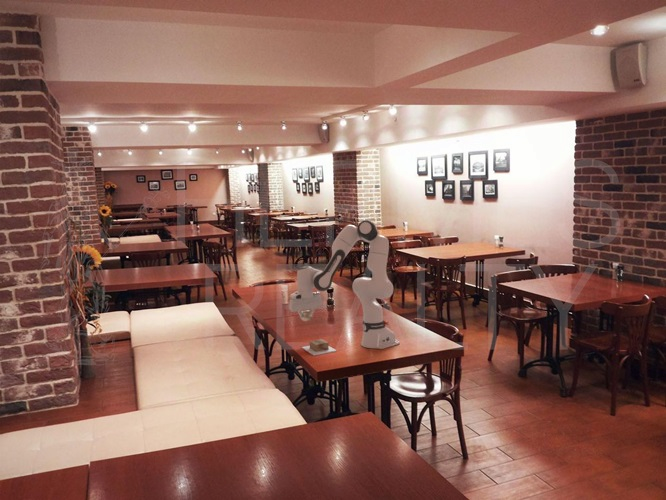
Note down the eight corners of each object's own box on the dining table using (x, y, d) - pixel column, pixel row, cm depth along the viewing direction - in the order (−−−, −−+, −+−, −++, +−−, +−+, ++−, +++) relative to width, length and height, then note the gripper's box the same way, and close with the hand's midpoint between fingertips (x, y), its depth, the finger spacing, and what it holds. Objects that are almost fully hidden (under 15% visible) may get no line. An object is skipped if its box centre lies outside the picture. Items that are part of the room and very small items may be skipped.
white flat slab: (323, 344, 308) (323, 343, 308) (336, 351, 294) (336, 350, 294) (301, 348, 302) (301, 347, 302) (313, 355, 288) (313, 354, 288)
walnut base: (322, 345, 303) (322, 338, 303) (328, 349, 296) (328, 342, 296) (309, 347, 300) (309, 341, 299) (315, 351, 293) (315, 344, 292)
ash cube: (308, 318, 313) (308, 310, 313) (312, 320, 309) (312, 311, 308) (301, 319, 311) (300, 311, 310) (304, 321, 307) (304, 313, 306)
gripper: (318, 290, 316) (320, 312, 317) (287, 295, 306) (288, 318, 308) (323, 292, 310) (324, 315, 312) (291, 297, 300) (293, 320, 302)
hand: (306, 316), depth 310 cm, fingers closed on ash cube, 5 cm apart
